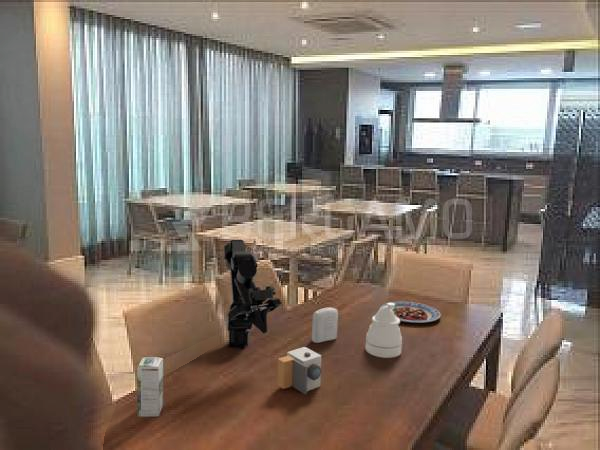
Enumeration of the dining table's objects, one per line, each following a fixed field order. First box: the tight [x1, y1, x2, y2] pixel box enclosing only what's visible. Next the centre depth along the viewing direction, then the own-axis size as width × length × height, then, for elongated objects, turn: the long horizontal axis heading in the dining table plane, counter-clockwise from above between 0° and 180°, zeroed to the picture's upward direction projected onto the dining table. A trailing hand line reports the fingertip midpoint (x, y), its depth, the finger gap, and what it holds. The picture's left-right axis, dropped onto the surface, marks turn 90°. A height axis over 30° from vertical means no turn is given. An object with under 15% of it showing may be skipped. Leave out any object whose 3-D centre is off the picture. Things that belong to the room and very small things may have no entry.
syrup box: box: [136, 356, 164, 418], centre depth 135 cm, size 6×6×14 cm
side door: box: [277, 355, 308, 395], centre depth 148 cm, size 9×4×8 cm, turn 39°
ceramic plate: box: [379, 301, 441, 324], centre depth 219 cm, size 26×26×3 cm
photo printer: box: [311, 307, 339, 344], centre depth 188 cm, size 10×4×12 cm, turn 123°
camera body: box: [286, 346, 322, 392], centre depth 153 cm, size 10×7×11 cm
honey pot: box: [365, 302, 403, 359], centre depth 180 cm, size 13×13×18 cm
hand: (265, 332), depth 159 cm, fingers closed
